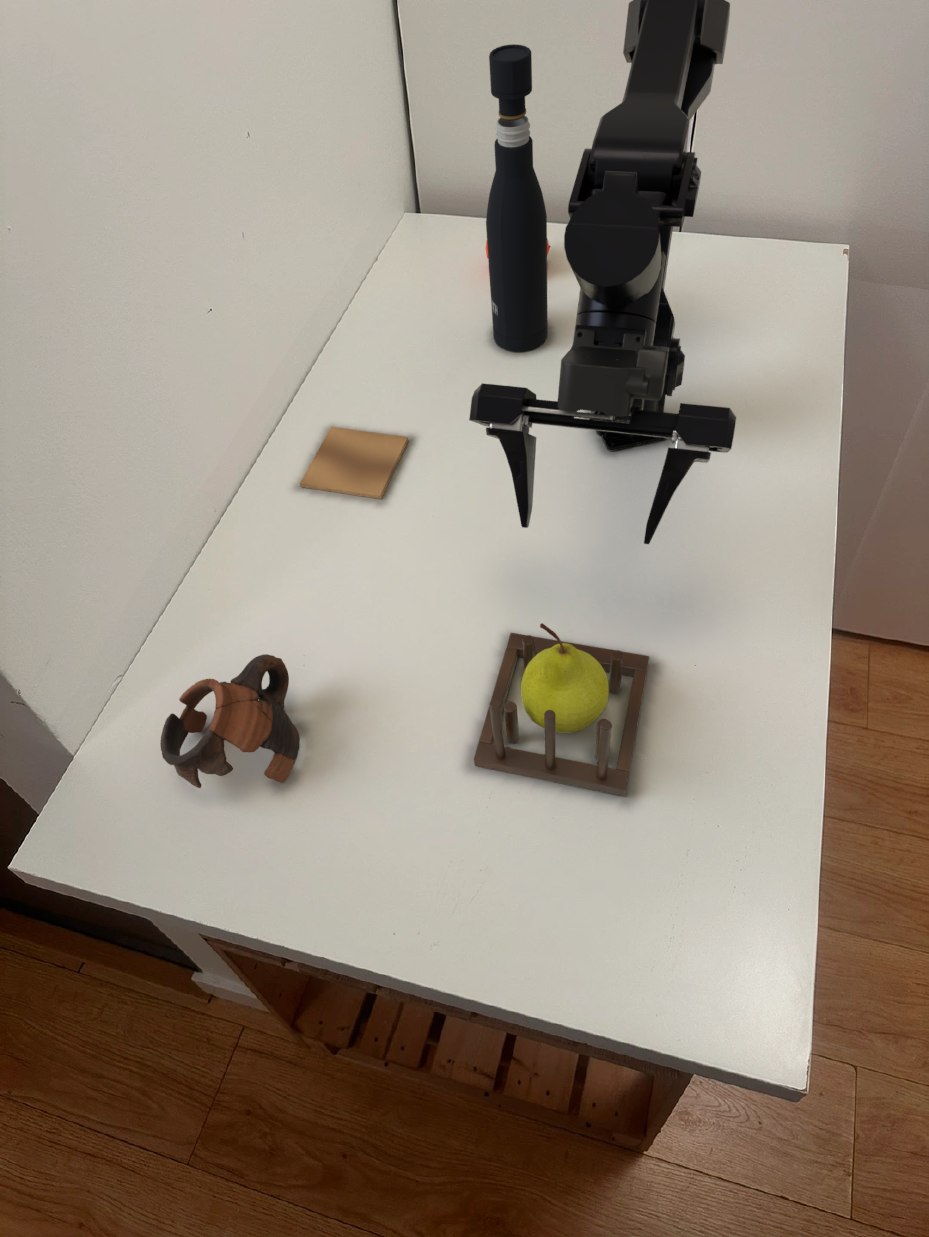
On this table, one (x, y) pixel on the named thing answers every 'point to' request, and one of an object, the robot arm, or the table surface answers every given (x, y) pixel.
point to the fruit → (564, 687)
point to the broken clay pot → (235, 723)
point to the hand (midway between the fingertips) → (584, 535)
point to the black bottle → (516, 212)
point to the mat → (355, 462)
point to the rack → (549, 764)
